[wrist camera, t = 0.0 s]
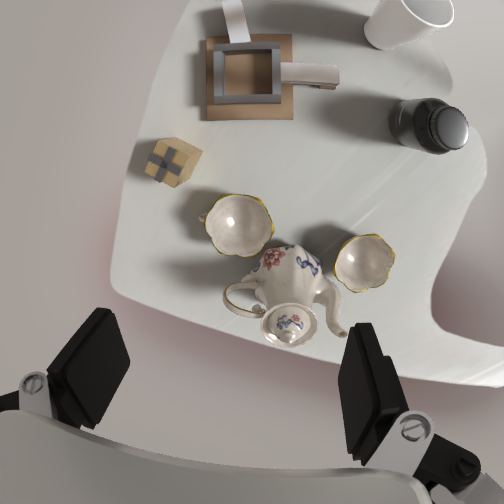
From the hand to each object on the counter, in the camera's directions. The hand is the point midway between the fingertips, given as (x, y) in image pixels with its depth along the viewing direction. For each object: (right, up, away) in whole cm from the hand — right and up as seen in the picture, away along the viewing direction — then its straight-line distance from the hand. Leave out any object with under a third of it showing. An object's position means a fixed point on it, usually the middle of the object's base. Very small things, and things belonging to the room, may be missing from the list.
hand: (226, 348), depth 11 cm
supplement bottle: (+23, +21, +23) cm, 39 cm away
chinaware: (+7, +4, +32) cm, 33 cm away
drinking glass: (+19, +33, +18) cm, 42 cm away
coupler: (-9, +17, +28) cm, 34 cm away
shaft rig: (+3, +29, +21) cm, 36 cm away
